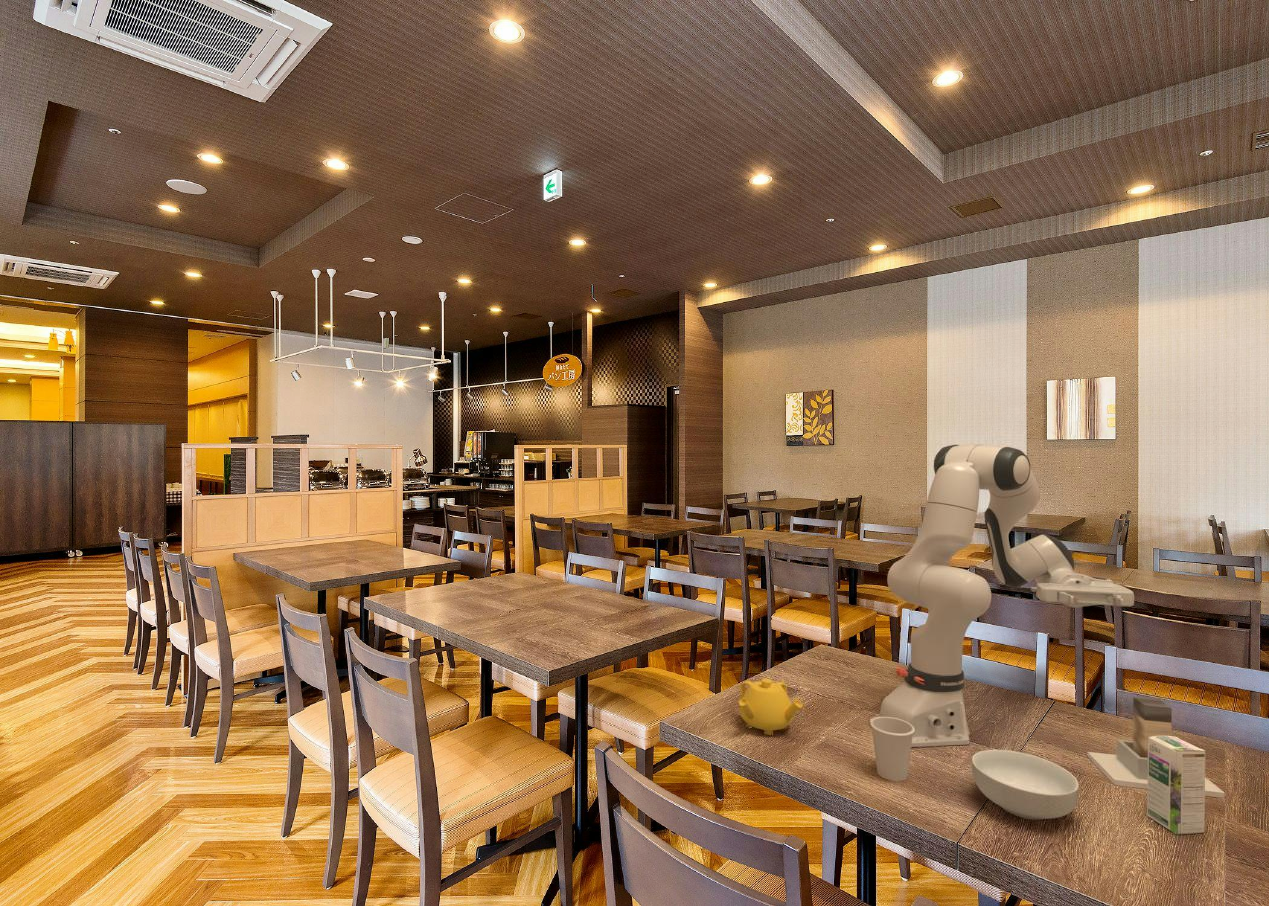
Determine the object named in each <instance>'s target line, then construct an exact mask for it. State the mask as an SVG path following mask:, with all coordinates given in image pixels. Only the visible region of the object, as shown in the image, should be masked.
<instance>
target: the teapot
mask: <svg viewBox="0 0 1269 906" xmlns="http://www.w3.org/2000/svg"><path fill="white" fill-rule="evenodd" d="M746 686H748V688H747V690H746ZM740 694H741V697H740V698H739V699H738V705H739V715H740V716H741V718H742V720H743V721H744V722H745V723H746V724H745V725H746V726H748V727H754V728H755V729H758V730H763V734H764V733H765V734H767V735H772V734H773V733H774V731H778V730H787V729H788V726H789V724H791V723H792V721H793V720H794V717H795V715H796V714H797V713H798V712H799V711H800V710H801V709H802V708H803V706H804V705H803V703H802V702H801V701H800V700H799V699H795V700H794V701H793V702H792V701H791V699H790V697H789V695H788V686H787V684H786V683H785V682H783V681H777V682H773V681H772V679H770V678H762V679H760V680H758V681H755V682H752V681H750V680H745V681H743V682H742V683H741V684H740ZM746 726H745V727H746ZM748 727H747V728H748ZM784 728H785V729H784ZM786 728H787V729H786ZM765 734H764V735H765ZM767 735H766V736H767ZM772 736H773V735H772Z"/></svg>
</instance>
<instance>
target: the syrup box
mask: <svg viewBox="0 0 1269 906" xmlns="http://www.w3.org/2000/svg"><path fill="white" fill-rule="evenodd" d="M1205 778H1206V750H1205V749H1203V748H1200V747H1197V746H1195V745H1193V744H1191V743H1190V742H1187V741H1185V740H1183V739H1180V738H1179V737H1177V736H1172V735H1171V736H1152V737H1148V789H1147V794H1146V795H1147V800H1146V804H1147V805H1146V816H1147V818H1149V819H1152V820H1153V821H1154V822H1157V823H1158V824H1159V825H1161V826H1162V827H1164V828H1166V829H1168V830H1169V831H1171V832H1172V834H1175V835H1184V834H1185V835H1188V834H1202V833H1205V819H1206V818H1205V816H1206V814H1205V813H1206V811H1205V807H1206V805H1205V804H1206V800H1205V799H1206V796H1205Z"/></svg>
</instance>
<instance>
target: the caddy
mask: <svg viewBox="0 0 1269 906" xmlns="http://www.w3.org/2000/svg"><path fill="white" fill-rule="evenodd" d="M1087 758H1088V759H1089V760H1090V761H1091V762H1092V763H1093V764H1094V765H1095V766H1096V767H1097V768H1098V769H1099V770H1100V772H1101V773H1102V774H1103V775H1105V776H1106V777H1107V779H1109V782H1111V783H1112V784H1113V785H1115V786H1120V787H1129V788H1135V789H1137V788H1138V789H1145V790H1148V758H1143V757H1140V756H1139V755H1138V754H1136V753H1135V752H1134V751H1133V740H1125V739H1116V754H1111V753H1110V754H1109V753H1102V752H1093V751H1087ZM1205 797H1214V798H1219V799H1226V793H1225V792H1224V791H1223V790H1222V789H1221V788H1219V787H1218V786H1217V785H1216V784H1214V783H1213V782H1212V781H1210V780H1209V779H1208V778H1207V777H1205Z"/></svg>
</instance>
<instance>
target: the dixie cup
mask: <svg viewBox="0 0 1269 906" xmlns="http://www.w3.org/2000/svg"><path fill="white" fill-rule="evenodd" d="M876 717H877V716H876ZM869 725H870V727H871V726H872V727H871V730H872V738H873V748H874V756H875V763H876V764H875V765H876V772H877V774H878V775H879V776H880V777H881V778H883V779H885V780H887V781H891V780H893V781H892V782H903V780H904V781H905V780H907V779H908V772H909V766H910V765H909V764H910V759H911V758H910V757H911V751H912V747H911V745H912V737H913V733H914V731H915V729H914V727H913V726H912V725H911V724H910V723H908V722H906V721H904V720H901V719H898V718H893V717H877V718H874V719H872V720H871V722H870V721H869Z"/></svg>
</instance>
